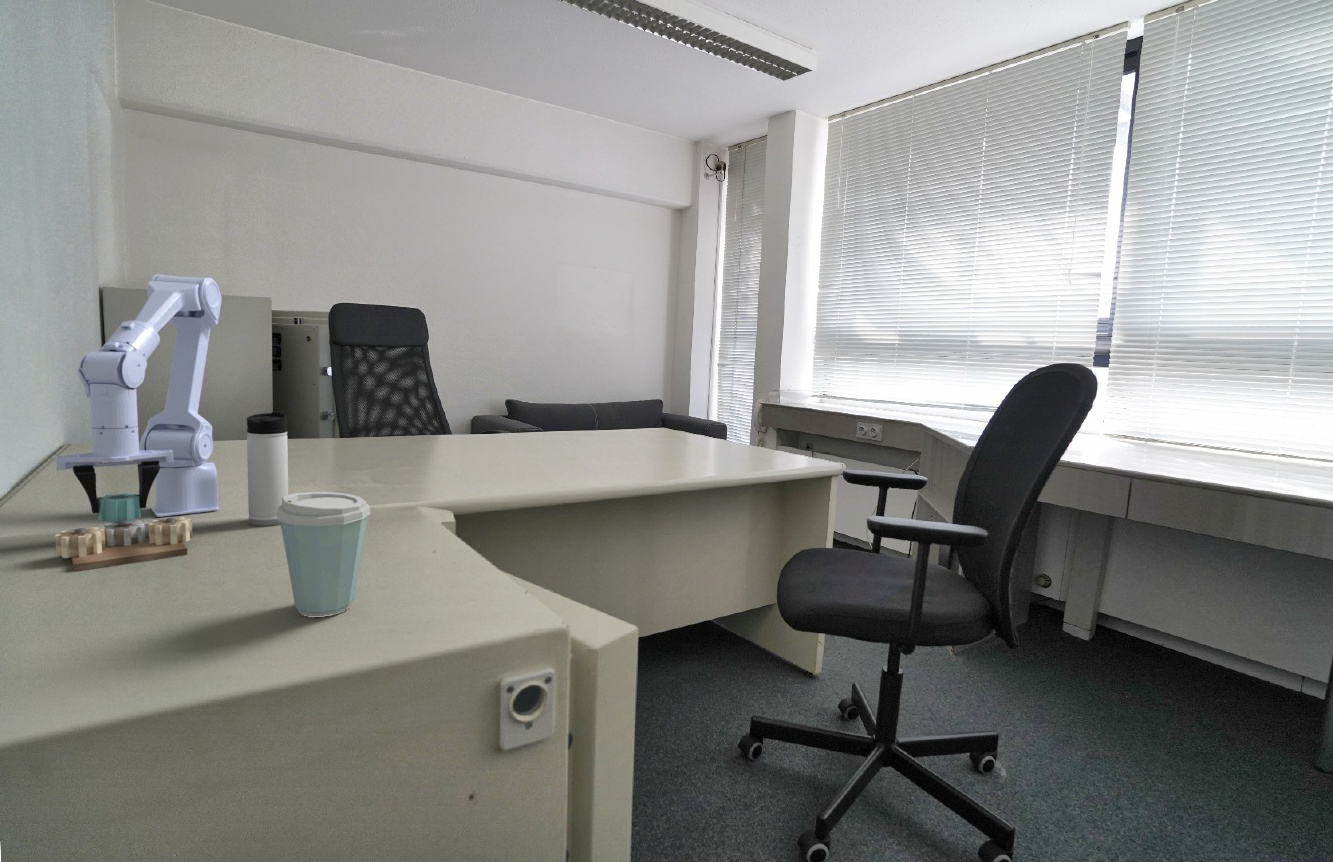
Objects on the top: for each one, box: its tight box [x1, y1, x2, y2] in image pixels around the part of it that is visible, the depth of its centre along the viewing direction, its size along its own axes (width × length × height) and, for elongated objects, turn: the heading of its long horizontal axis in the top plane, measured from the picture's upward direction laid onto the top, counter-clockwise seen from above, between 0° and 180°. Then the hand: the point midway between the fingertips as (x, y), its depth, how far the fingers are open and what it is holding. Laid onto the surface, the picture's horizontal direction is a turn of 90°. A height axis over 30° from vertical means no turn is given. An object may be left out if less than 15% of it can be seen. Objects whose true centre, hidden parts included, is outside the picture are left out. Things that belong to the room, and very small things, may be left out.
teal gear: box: [96, 492, 142, 524], centre depth 108 cm, size 5×5×4 cm
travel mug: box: [246, 411, 289, 527], centre depth 120 cm, size 6×7×20 cm
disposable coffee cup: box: [276, 491, 371, 617], centre depth 85 cm, size 11×11×15 cm
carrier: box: [54, 516, 193, 572], centre depth 104 cm, size 16×18×4 cm
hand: (119, 509), depth 108 cm, fingers closed on teal gear, 5 cm apart
